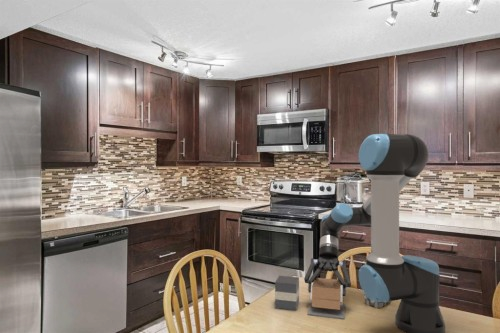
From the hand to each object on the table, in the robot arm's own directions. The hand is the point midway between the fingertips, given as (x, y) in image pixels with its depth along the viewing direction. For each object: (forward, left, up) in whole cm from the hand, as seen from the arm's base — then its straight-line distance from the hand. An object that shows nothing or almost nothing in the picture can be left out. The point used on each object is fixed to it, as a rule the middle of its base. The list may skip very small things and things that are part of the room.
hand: (326, 302), depth 129 cm
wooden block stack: (0, -3, -1) cm, 3 cm away
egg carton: (-19, -15, -5) cm, 25 cm away
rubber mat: (0, -3, -4) cm, 5 cm away
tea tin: (+15, -3, -4) cm, 16 cm away
